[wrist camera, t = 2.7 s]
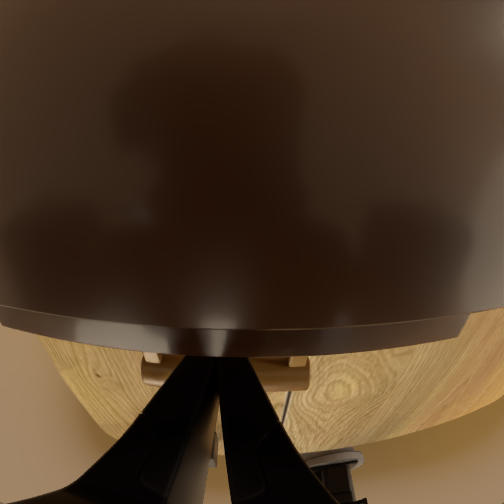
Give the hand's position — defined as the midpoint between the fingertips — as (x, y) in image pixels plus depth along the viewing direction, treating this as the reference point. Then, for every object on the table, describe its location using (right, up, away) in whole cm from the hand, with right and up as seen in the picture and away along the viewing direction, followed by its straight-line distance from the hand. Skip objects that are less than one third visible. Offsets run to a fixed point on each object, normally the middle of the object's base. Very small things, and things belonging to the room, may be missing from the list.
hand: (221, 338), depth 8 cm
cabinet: (0, +12, 0) cm, 12 cm away
